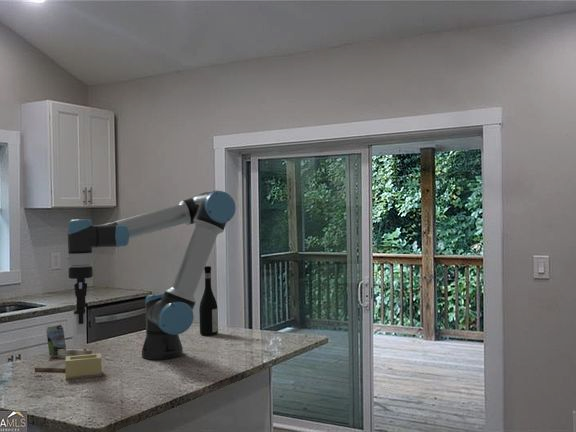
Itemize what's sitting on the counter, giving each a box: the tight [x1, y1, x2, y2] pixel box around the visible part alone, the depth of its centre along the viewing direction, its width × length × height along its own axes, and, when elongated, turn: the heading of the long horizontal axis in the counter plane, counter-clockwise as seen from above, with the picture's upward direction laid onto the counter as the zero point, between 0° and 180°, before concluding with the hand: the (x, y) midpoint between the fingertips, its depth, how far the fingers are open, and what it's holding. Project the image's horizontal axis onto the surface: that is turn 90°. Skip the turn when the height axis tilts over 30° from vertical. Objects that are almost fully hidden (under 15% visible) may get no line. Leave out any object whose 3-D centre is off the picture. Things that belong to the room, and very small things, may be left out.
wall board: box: [34, 347, 93, 373], centre depth 207 cm, size 13×15×5 cm
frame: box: [65, 352, 103, 380], centre depth 194 cm, size 11×7×6 cm, turn 109°
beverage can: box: [45, 324, 67, 358], centre depth 222 cm, size 6×7×12 cm
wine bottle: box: [198, 265, 219, 337], centre depth 259 cm, size 8×8×30 cm
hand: (81, 330), depth 194 cm, fingers open, 13 cm apart
